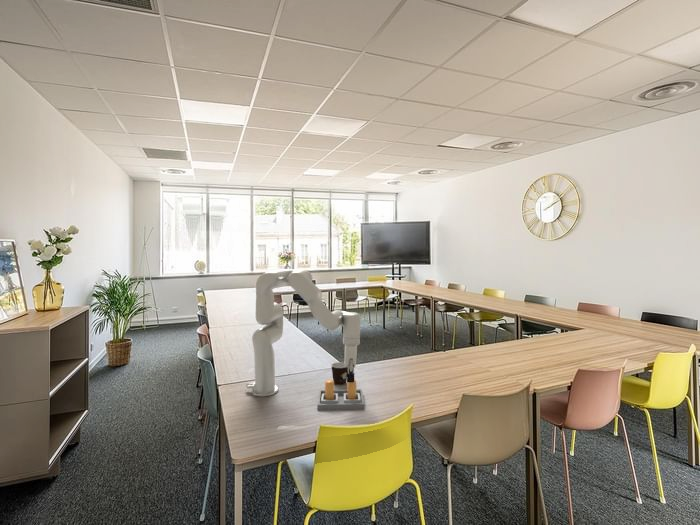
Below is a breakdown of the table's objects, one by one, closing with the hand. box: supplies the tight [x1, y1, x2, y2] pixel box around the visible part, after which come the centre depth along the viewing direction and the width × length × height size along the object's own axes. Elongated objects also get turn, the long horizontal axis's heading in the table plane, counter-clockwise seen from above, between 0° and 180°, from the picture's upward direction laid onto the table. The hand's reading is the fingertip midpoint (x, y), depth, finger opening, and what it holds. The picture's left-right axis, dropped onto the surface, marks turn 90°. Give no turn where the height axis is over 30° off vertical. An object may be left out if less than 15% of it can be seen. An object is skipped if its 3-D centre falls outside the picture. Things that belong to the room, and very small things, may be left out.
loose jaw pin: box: [346, 379, 357, 399], centre depth 153 cm, size 4×4×9 cm
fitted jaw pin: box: [324, 379, 335, 400], centre depth 152 cm, size 4×4×9 cm
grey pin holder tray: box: [316, 389, 365, 411], centre depth 153 cm, size 20×15×3 cm
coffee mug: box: [331, 361, 347, 386], centre depth 175 cm, size 12×9×10 cm
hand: (350, 377), depth 153 cm, fingers open, 9 cm apart
